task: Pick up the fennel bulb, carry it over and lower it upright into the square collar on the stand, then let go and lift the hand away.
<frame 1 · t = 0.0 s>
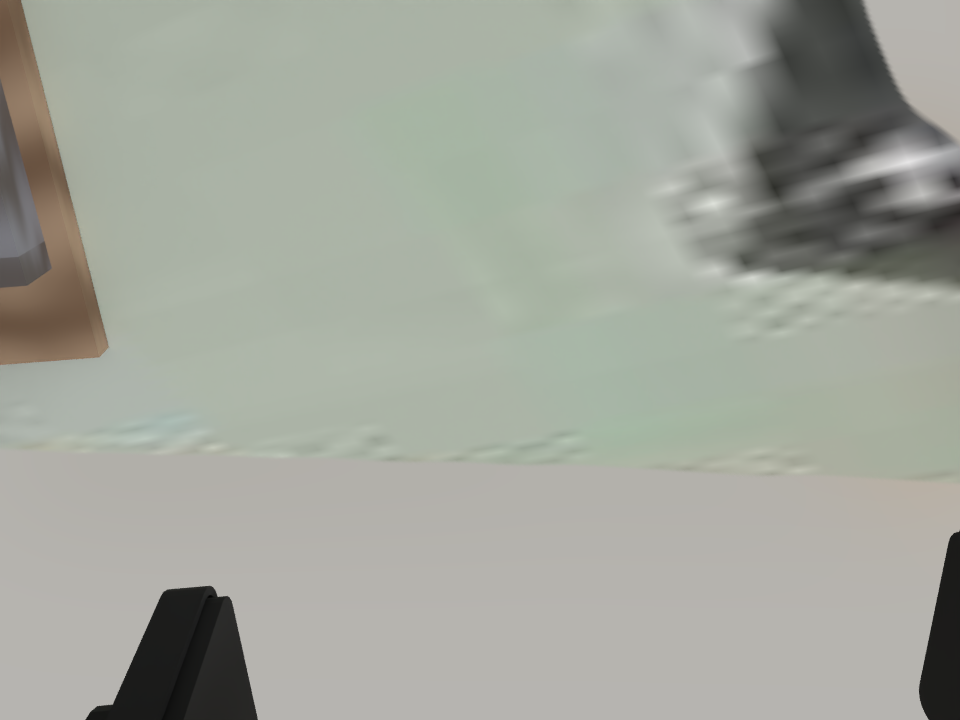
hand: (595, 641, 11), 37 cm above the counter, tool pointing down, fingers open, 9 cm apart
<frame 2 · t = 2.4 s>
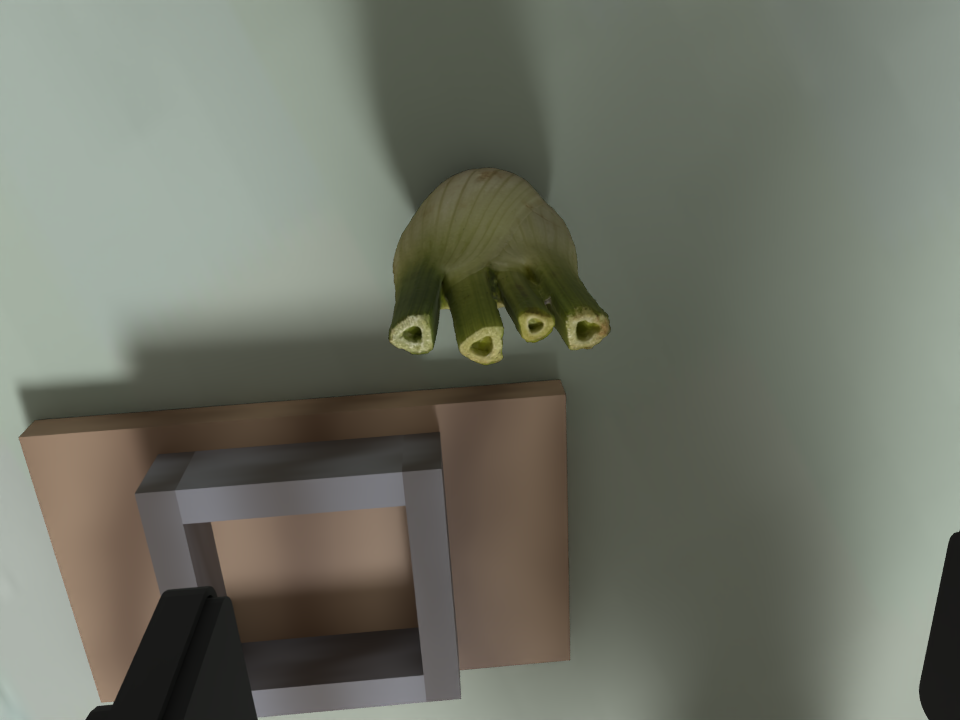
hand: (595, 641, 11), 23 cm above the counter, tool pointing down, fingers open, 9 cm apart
collar stand: (322, 538, 37), on the counter
fennel bulb: (480, 221, 32), on the counter
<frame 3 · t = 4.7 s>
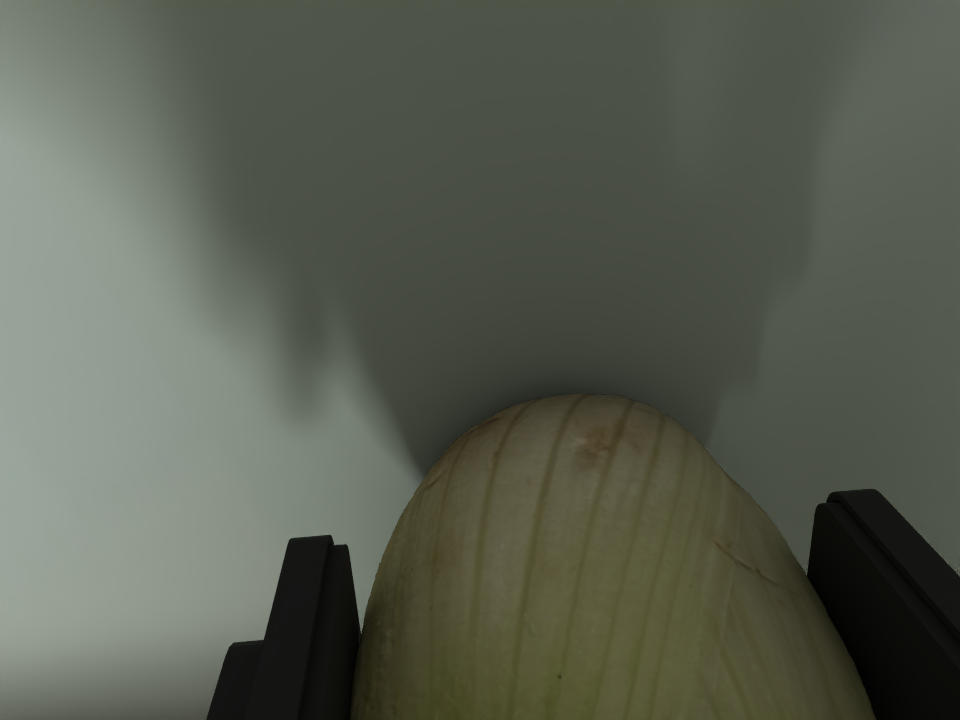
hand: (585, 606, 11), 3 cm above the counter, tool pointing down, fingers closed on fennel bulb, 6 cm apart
fennel bulb: (556, 477, 15), on the counter, touching gripper
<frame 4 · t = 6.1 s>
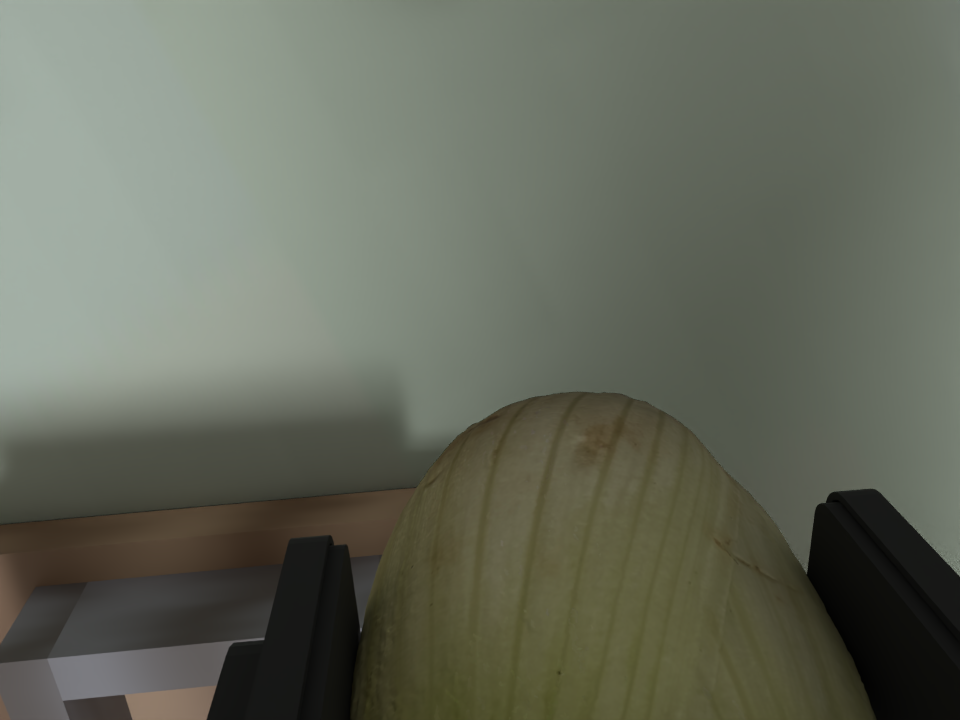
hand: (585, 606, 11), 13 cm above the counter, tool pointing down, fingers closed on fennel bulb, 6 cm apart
collar stand: (273, 673, 28), on the counter
fennel bulb: (556, 475, 15), point 9 cm above the counter, touching gripper
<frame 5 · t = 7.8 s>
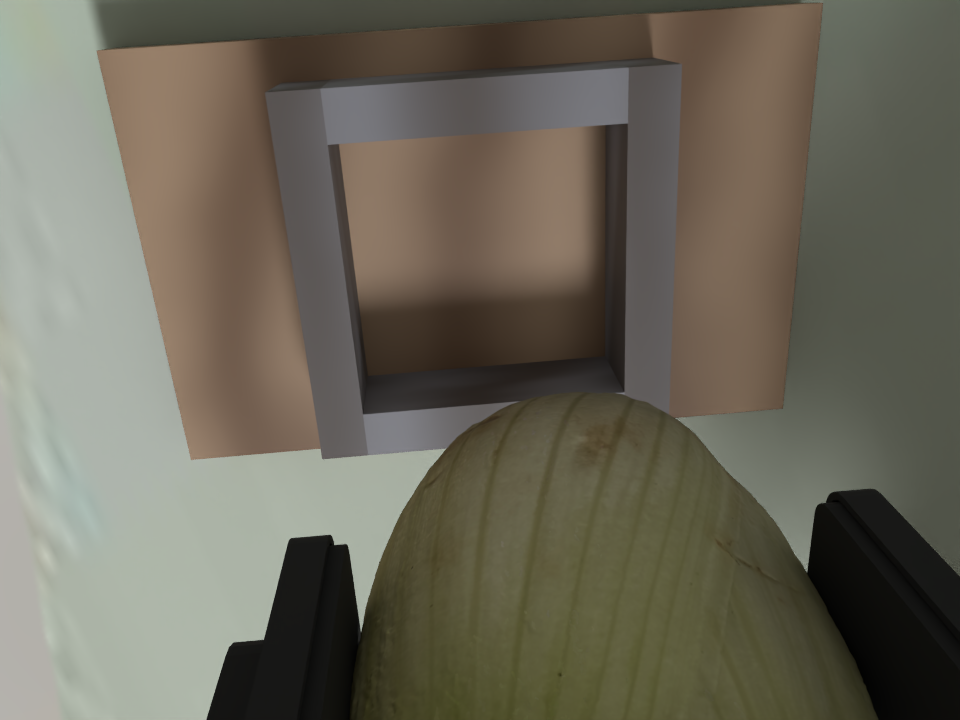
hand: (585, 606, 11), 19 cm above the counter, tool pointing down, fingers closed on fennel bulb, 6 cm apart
collar stand: (477, 239, 29), on the counter
fennel bulb: (556, 475, 14), point 16 cm above the counter, touching gripper
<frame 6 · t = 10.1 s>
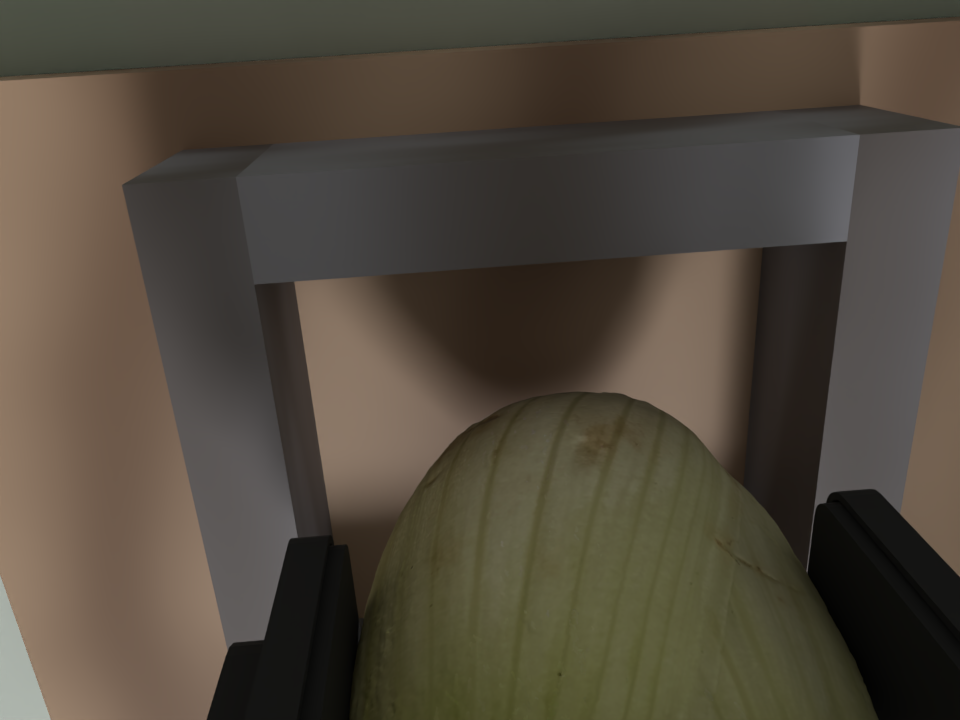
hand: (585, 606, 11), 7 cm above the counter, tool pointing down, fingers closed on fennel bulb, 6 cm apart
collar stand: (527, 395, 18), on the counter
fennel bulb: (556, 475, 14), point 3 cm above the counter, touching gripper
when the fingers open (6 cm above the counter, at t = 10.8 s): fennel bulb drops 1 cm, resting on collar stand.
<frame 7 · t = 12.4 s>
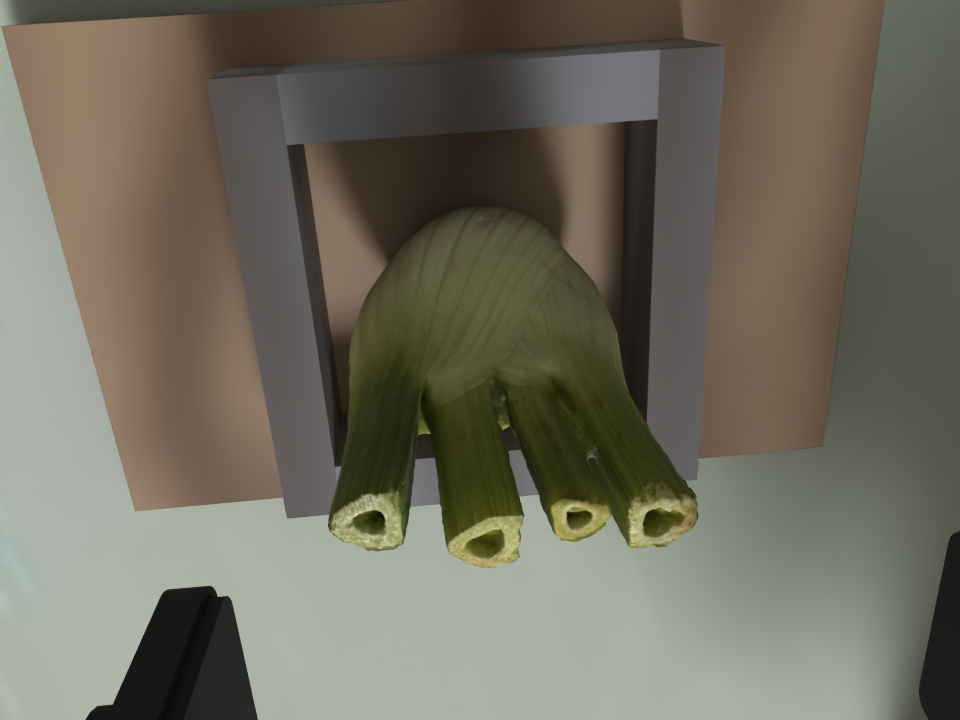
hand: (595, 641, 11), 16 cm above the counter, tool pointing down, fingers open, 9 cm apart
collar stand: (470, 253, 25), on the counter
fennel bulb: (476, 272, 24), point 1 cm above the counter, touching collar stand
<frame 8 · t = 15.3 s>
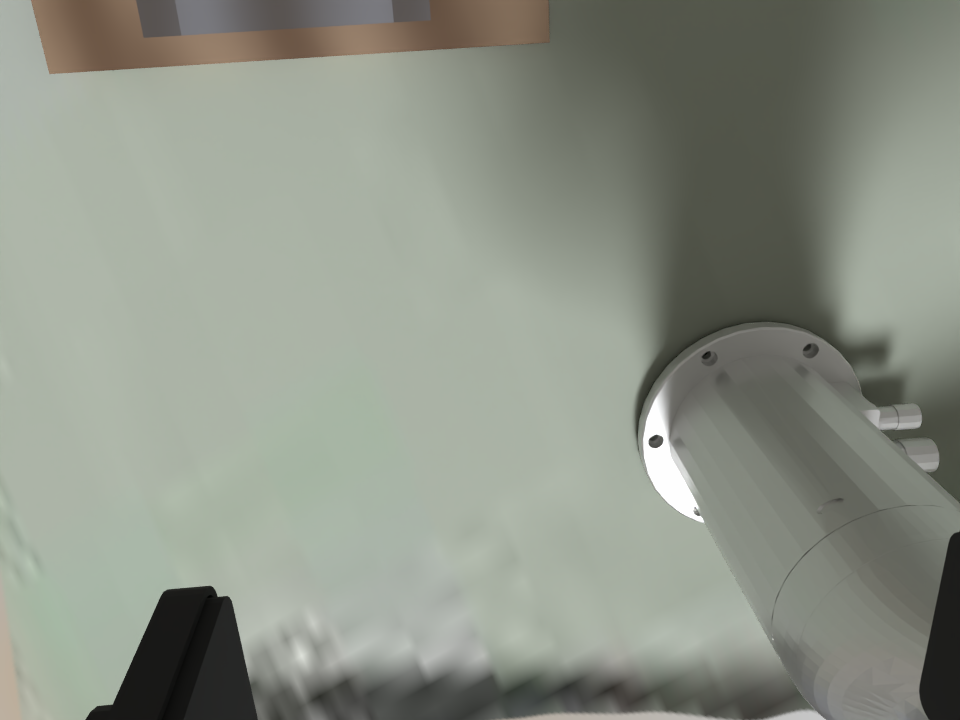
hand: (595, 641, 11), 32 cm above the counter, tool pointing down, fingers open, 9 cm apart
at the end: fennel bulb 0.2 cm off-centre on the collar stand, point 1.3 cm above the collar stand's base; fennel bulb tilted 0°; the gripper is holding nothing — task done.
